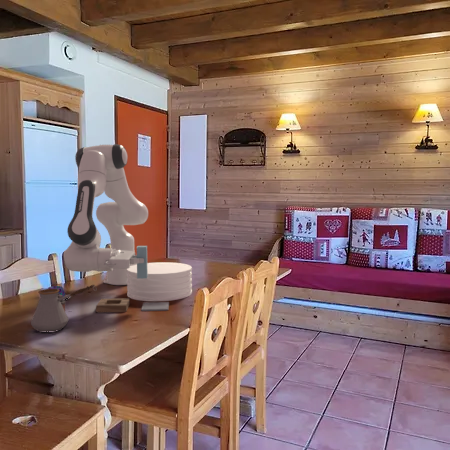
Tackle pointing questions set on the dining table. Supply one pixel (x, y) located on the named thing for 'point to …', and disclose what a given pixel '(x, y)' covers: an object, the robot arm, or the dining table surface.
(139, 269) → the peg
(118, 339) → the dining table surface
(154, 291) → the plate stack
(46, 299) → the coffee pot
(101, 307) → the holder
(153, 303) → the coaster
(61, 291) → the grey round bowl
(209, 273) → the dining table surface
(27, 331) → the dining table surface
